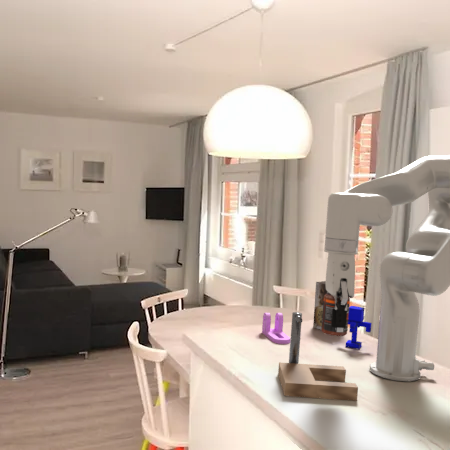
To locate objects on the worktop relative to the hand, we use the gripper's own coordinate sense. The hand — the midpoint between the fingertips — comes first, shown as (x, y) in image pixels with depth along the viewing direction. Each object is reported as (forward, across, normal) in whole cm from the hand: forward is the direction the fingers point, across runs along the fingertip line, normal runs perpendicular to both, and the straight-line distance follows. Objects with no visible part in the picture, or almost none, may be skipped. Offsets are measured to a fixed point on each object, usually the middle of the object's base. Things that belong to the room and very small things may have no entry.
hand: (335, 322), depth 119 cm
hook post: (+15, +8, +8) cm, 19 cm away
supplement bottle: (+3, 0, 0) cm, 3 cm away
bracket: (+16, +41, +9) cm, 44 cm away
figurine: (+16, +36, -14) cm, 42 cm away
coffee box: (+16, +55, -10) cm, 58 cm away
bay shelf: (+15, 0, +4) cm, 16 cm away
